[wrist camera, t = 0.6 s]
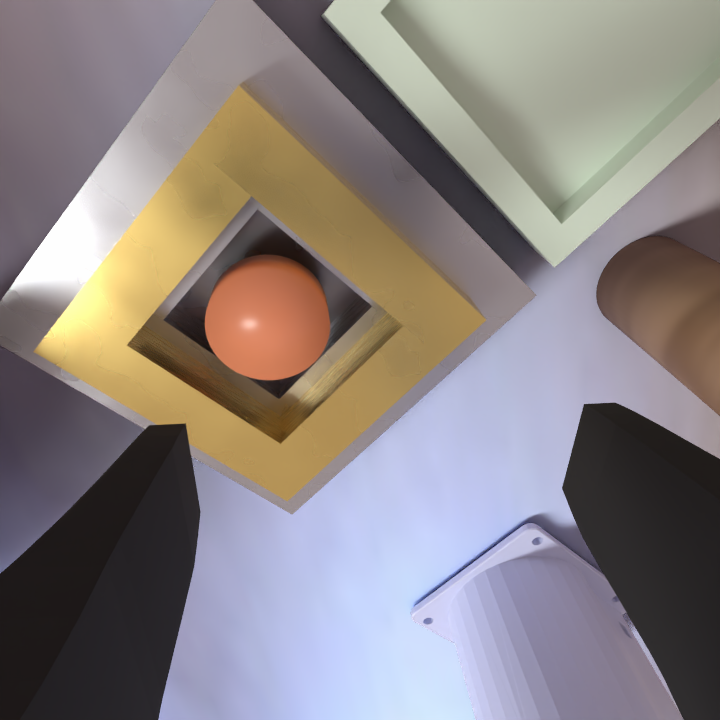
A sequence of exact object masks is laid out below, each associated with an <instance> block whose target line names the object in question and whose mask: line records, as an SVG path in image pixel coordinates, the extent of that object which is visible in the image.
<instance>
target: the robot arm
mask: <svg viewBox="0 0 720 720" xmlns="http://www.w3.org/2000/svg"><path fill="white" fill-rule="evenodd" d="M562 489H563V492H564V494H565V497H566V499H567V502H568V504H569V507H570V509H571V512H572V514H573V517H574V519H575V521H576V523H577V526H578V528H579V530H580V532H581V535H582V537H583V539H584V540H585V542H586V544H587V546H588V548H589V549H590V551H591V553H592V555H593V556H594V558H595V560H596V561H597V563H598V565H599V567H600V568H601V570H602V572H603V574H602V573H601V572H600V571H598V570H597V569H595V568H594V567H593V566H591V565H590V564H589V563H587V562H586V561H585V560H583V559H582V558H581V557H579V556H578V555H577V554H575V553H574V552H573V551H571V550H570V549H569V548H567V547H566V546H565V545H563V544H562V543H561V542H559V541H558V540H557V539H555V538H554V537H553V536H551V535H550V534H549V533H547V532H546V531H545V530H543V529H542V528H541V527H539V526H538V525H537V524H534V523H527V524H525V525H523V526H521V527H520V528H519V529H517V530H516V531H515V532H513V533H512V534H511V535H509V536H508V537H507V538H505V539H504V540H503V541H501V542H500V543H499V544H497V545H496V546H495V547H493V548H492V549H491V550H489V551H488V552H487V553H485V554H484V555H483V556H481V557H480V558H479V559H477V560H476V561H475V562H473V563H472V564H471V565H469V566H468V567H467V568H465V569H464V570H462V571H461V572H460V573H458V574H457V575H456V576H454V577H453V578H452V579H450V580H449V581H448V582H446V583H445V584H444V585H442V586H441V587H440V588H438V589H437V590H436V591H434V592H433V593H432V594H430V595H429V596H428V597H426V598H425V599H424V600H422V601H421V602H420V603H418V604H417V605H416V606H414V607H413V608H412V609H411V612H410V613H411V618H412V620H413V621H414V622H415V623H417V624H419V625H421V626H423V627H425V628H427V629H428V630H430V631H432V632H434V633H436V634H438V635H440V636H441V637H443V638H445V639H447V640H449V641H451V642H453V643H454V644H455V647H456V651H457V654H458V658H459V661H460V665H461V669H462V672H463V676H464V679H465V683H466V687H467V690H468V694H469V697H470V701H471V705H472V708H473V712H474V715H475V719H476V720H683V719H684V720H720V459H719V458H717V457H715V456H713V455H711V454H710V453H708V452H706V451H704V450H703V449H701V448H699V447H697V446H695V445H694V444H692V443H690V442H688V441H687V440H685V439H683V438H681V437H680V436H678V435H676V434H674V433H672V432H671V431H669V430H667V429H665V428H664V427H662V426H660V425H658V424H656V423H654V422H653V421H651V420H649V419H647V418H645V417H643V416H642V415H640V414H638V413H636V412H634V411H632V410H630V409H628V408H626V407H624V406H621V405H619V404H617V403H600V404H584V407H583V411H582V414H581V418H580V422H579V426H578V430H577V434H576V437H575V441H574V445H573V449H572V453H571V457H570V460H569V464H568V468H567V472H566V476H565V480H564V483H563V487H562ZM199 520H200V506H199V500H198V494H197V488H196V482H195V476H194V470H193V464H192V458H191V452H190V446H189V440H188V434H187V428H186V423H184V424H163V425H149V426H148V427H147V428H146V429H145V430H144V431H143V432H142V433H141V434H140V435H139V436H138V437H137V438H136V439H135V440H134V442H133V443H132V444H131V445H130V446H129V447H128V448H127V449H126V450H125V451H124V452H123V454H122V455H121V456H120V457H119V458H118V459H117V460H116V461H115V462H114V463H113V464H112V465H111V467H110V468H109V469H108V470H107V471H106V472H105V473H104V474H103V475H102V476H101V477H100V478H99V479H98V480H97V481H96V483H95V484H94V485H93V486H92V487H91V488H90V489H89V490H88V491H87V492H86V493H85V494H84V495H83V496H82V497H81V498H80V499H79V500H78V501H77V502H76V503H75V504H74V505H73V506H72V507H71V508H70V509H69V510H68V511H67V512H66V513H65V514H64V515H63V516H62V517H61V518H60V519H59V520H58V521H57V522H56V523H55V524H54V525H53V526H52V527H51V528H50V529H49V530H48V531H46V532H45V533H44V534H43V535H42V536H41V537H40V538H39V539H38V540H37V541H36V542H35V543H34V544H33V545H32V546H31V547H29V548H28V549H27V550H26V551H25V552H24V553H23V554H22V555H21V556H20V557H19V558H18V559H16V560H15V561H14V562H13V563H12V564H11V565H10V566H9V567H7V568H6V569H5V570H4V571H3V572H2V573H0V720H158V718H159V713H160V708H161V703H162V698H163V694H164V690H165V686H166V681H167V677H168V673H169V669H170V665H171V661H172V657H173V652H174V648H175V644H176V640H177V636H178V632H179V628H180V624H181V619H182V615H183V611H184V607H185V603H186V599H187V594H188V590H189V586H190V582H191V577H192V573H193V569H194V563H195V555H196V547H197V538H198V529H199ZM625 613H627V614H628V616H629V617H630V619H631V621H632V622H633V624H634V626H635V627H636V629H637V631H638V633H639V634H640V636H641V638H642V639H643V641H644V643H645V644H646V646H647V648H648V649H649V651H650V653H651V655H652V657H653V659H654V660H655V662H656V664H657V666H658V668H659V670H660V672H661V673H662V675H663V677H664V679H665V681H666V683H667V685H668V688H669V690H670V692H671V694H672V696H673V698H674V700H675V702H676V705H677V707H678V709H679V711H680V713H681V715H682V716H681V715H680V713H679V711H678V710H677V708H676V706H675V704H674V703H673V701H672V699H671V698H670V696H669V694H668V692H667V691H666V689H665V687H664V686H663V684H662V682H661V680H660V679H659V677H658V675H657V674H656V672H655V670H654V669H653V667H652V665H651V663H650V662H649V660H648V658H647V657H646V655H645V653H644V651H643V650H642V648H641V646H640V645H639V643H638V641H637V639H636V638H635V636H634V634H633V633H632V631H631V629H630V628H629V626H628V624H627V622H626V621H625V619H624V617H623V616H622V615H624V614H625ZM682 717H683V718H682Z"/></svg>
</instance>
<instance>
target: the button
mask: <svg viewBox="0 0 720 720" xmlns="http://www.w3.org/2000/svg"><path fill="white" fill-rule="evenodd" d="M205 332H206V336H207V339H208V342H209V344H210V346H211V348H212V350H213V352H214V353H215V354H216V356H217V357H218V358H219V359H220V360H221V361H222V362H223V363H224V364H225V365H226V366H228V367H229V368H230V369H232V370H234V371H235V372H237V373H239V374H241V375H244V376H247V377H250V378H254V379H259V380H278V379H284V378H288V377H291V376H294V375H297V374H299V373H300V372H302V371H304V370H306V369H307V368H308V367H310V366H311V365H312V364H313V363H314V362H315V361H316V360H317V359H318V358H319V357H320V355H321V354H322V352H323V351H324V349H325V347H326V345H327V342H328V338H329V333H330V319H329V312H328V305H327V299H326V295H325V292H324V290H323V288H322V286H321V284H320V282H319V281H318V279H317V278H316V277H315V276H314V274H313V273H312V272H311V271H310V270H308V269H307V268H306V267H304V266H303V265H302V264H300V263H298V262H296V261H294V260H292V259H289V258H287V257H283V256H278V255H255V256H251V257H247V258H245V259H242V260H240V261H238V262H236V263H235V264H233V265H232V266H230V267H229V268H228V269H227V270H226V271H225V272H224V273H223V274H222V275H221V276H220V277H219V279H218V280H217V282H216V284H215V286H214V288H213V291H212V293H211V297H210V300H209V303H208V307H207V310H206V315H205Z"/></svg>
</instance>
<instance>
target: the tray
mask: <svg viewBox="0 0 720 720" xmlns="http://www.w3.org/2000/svg"><path fill="white" fill-rule="evenodd" d="M321 17H322V18H323V19H324V20H325V21H326V23H327V24H328V25H329V26H330V27H331V28H332V29H333V30H334V31H335V32H336V34H337V35H338V36H339V37H340V38H341V39H342V40H343V41H344V42H345V43H346V44H347V46H348V47H349V48H350V49H351V50H352V51H353V52H354V53H355V54H356V55H357V56H358V58H359V59H360V60H361V61H362V62H363V63H364V64H365V65H366V66H367V67H368V69H369V70H370V71H371V72H372V73H373V74H374V75H375V76H376V77H377V78H378V79H379V81H380V82H381V83H382V84H383V85H384V86H385V87H386V88H387V89H388V90H389V92H390V93H391V94H392V95H393V96H394V97H395V98H396V99H397V100H398V101H399V102H400V104H401V105H402V106H403V107H404V108H405V109H406V110H407V111H408V112H409V113H410V114H411V116H412V117H413V118H414V119H415V120H416V121H417V122H418V123H419V124H420V125H421V127H422V128H423V129H424V130H425V131H426V132H427V133H428V134H429V135H430V136H431V137H432V139H433V140H434V141H435V142H436V143H437V144H438V145H439V146H440V147H441V148H442V149H443V151H444V152H445V153H446V154H447V155H448V156H449V157H450V158H451V159H452V160H453V162H454V163H455V164H456V165H457V166H458V167H459V168H460V169H461V170H462V171H463V172H464V174H465V175H466V176H467V177H468V178H469V179H470V180H471V181H472V182H473V183H474V185H475V186H476V187H477V188H478V189H479V190H480V191H481V192H482V193H483V194H484V195H485V197H486V198H487V199H488V200H489V201H490V202H491V203H492V204H493V205H494V206H495V207H496V209H497V210H498V211H499V212H500V213H501V214H502V215H503V216H504V217H505V218H506V220H507V221H508V222H509V223H510V224H511V225H512V226H513V227H514V228H515V229H516V230H517V232H518V233H519V234H520V235H521V236H522V237H523V238H524V239H525V240H526V241H527V243H528V244H529V245H530V246H531V247H532V248H533V249H534V250H535V251H536V252H537V253H538V254H539V255H540V256H541V257H543V258H544V259H545V260H546V261H547V262H549V263H550V264H551V265H552V266H553V267H556V266H557V265H558V264H559V263H560V262H561V261H562V260H564V259H565V258H566V257H567V256H568V255H569V254H570V253H571V252H572V251H574V250H575V249H576V248H577V247H578V246H579V245H580V244H581V243H582V242H583V241H585V240H586V239H587V238H588V237H589V236H590V235H591V234H592V233H593V232H595V231H596V230H597V229H598V228H599V227H600V226H601V225H602V224H603V223H604V222H606V221H607V220H608V219H609V218H610V217H611V216H612V215H613V214H614V213H616V212H617V211H618V210H619V209H620V208H621V207H622V206H623V205H624V204H626V203H627V202H628V201H629V200H630V199H631V198H632V197H633V196H634V195H635V194H637V193H638V192H639V191H640V190H641V189H642V188H643V187H644V186H645V185H647V184H648V183H649V182H650V181H651V180H652V179H653V178H654V177H655V176H656V175H658V174H659V173H660V172H661V171H662V170H663V169H664V168H665V167H666V166H668V165H669V164H670V163H671V162H672V161H673V160H674V159H675V158H676V157H677V156H679V155H680V154H681V153H682V152H683V151H684V150H685V149H686V148H687V147H689V146H690V145H691V144H692V143H693V142H694V141H695V140H696V139H697V138H698V137H700V136H701V135H702V134H703V133H704V132H705V131H706V130H707V129H708V128H710V127H711V126H712V125H713V124H714V123H715V122H716V121H717V120H718V119H719V118H720V0H333V2H332V3H331V4H330V5H329V7H328V8H327V9H326V10H325V12H324V13H323V14H322V15H321Z"/></svg>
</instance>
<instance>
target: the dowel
mask: <svg viewBox="0 0 720 720" xmlns="http://www.w3.org/2000/svg"><path fill="white" fill-rule="evenodd" d="M597 303H598V306H599V309H600V311H601V312H602V314H603V315H604V316H605V317H606V318H607V319H608V320H609V321H610V322H612V323H613V324H614V325H615V326H616V327H617V328H618V329H620V330H621V331H622V332H623V333H624V334H625V335H627V336H628V337H629V338H630V339H631V340H632V341H634V342H635V343H636V344H637V345H638V346H639V347H641V348H642V349H643V350H644V351H645V352H646V353H647V354H649V355H650V356H651V357H652V358H653V359H654V360H656V361H657V362H658V363H659V364H660V365H661V366H663V367H664V368H665V369H666V370H667V371H668V372H670V373H671V374H672V375H673V376H674V377H675V378H676V379H678V380H679V381H680V382H681V383H682V384H683V385H685V386H686V387H687V388H688V389H689V390H690V391H692V392H693V393H694V394H695V395H696V396H697V397H699V398H700V399H701V400H702V401H703V402H704V403H705V404H707V405H708V406H709V407H710V408H711V409H712V410H714V411H715V412H716V413H717V414H718V415H719V416H720V263H719V262H717V261H715V260H713V259H711V258H709V257H707V256H705V255H703V254H701V253H699V252H697V251H695V250H693V249H691V248H689V247H687V246H685V245H683V244H681V243H679V242H677V241H675V240H673V239H671V238H668V237H663V236H651V237H646V238H642V239H639V240H637V241H634V242H632V243H630V244H629V245H627V246H626V247H624V248H623V249H621V250H620V251H619V252H618V253H617V254H616V255H615V256H614V257H613V258H612V259H611V260H610V261H609V262H608V264H607V265H606V267H605V268H604V270H603V272H602V274H601V276H600V279H599V282H598V285H597Z"/></svg>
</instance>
